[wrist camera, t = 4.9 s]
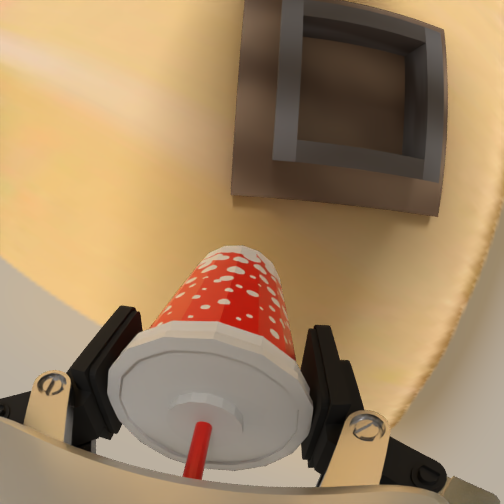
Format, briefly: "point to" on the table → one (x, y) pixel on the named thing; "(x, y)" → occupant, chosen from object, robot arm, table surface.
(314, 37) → the socket board
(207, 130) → the table surface
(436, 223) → the table surface
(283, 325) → the beverage cup
